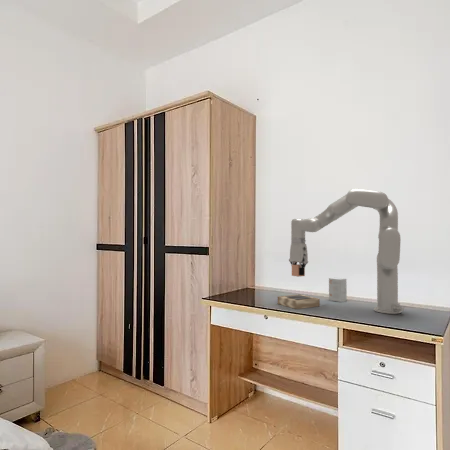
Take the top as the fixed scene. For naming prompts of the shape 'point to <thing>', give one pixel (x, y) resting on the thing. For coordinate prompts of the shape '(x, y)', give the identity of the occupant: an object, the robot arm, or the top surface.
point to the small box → (337, 289)
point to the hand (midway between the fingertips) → (298, 274)
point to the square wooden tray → (298, 301)
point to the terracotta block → (296, 270)
